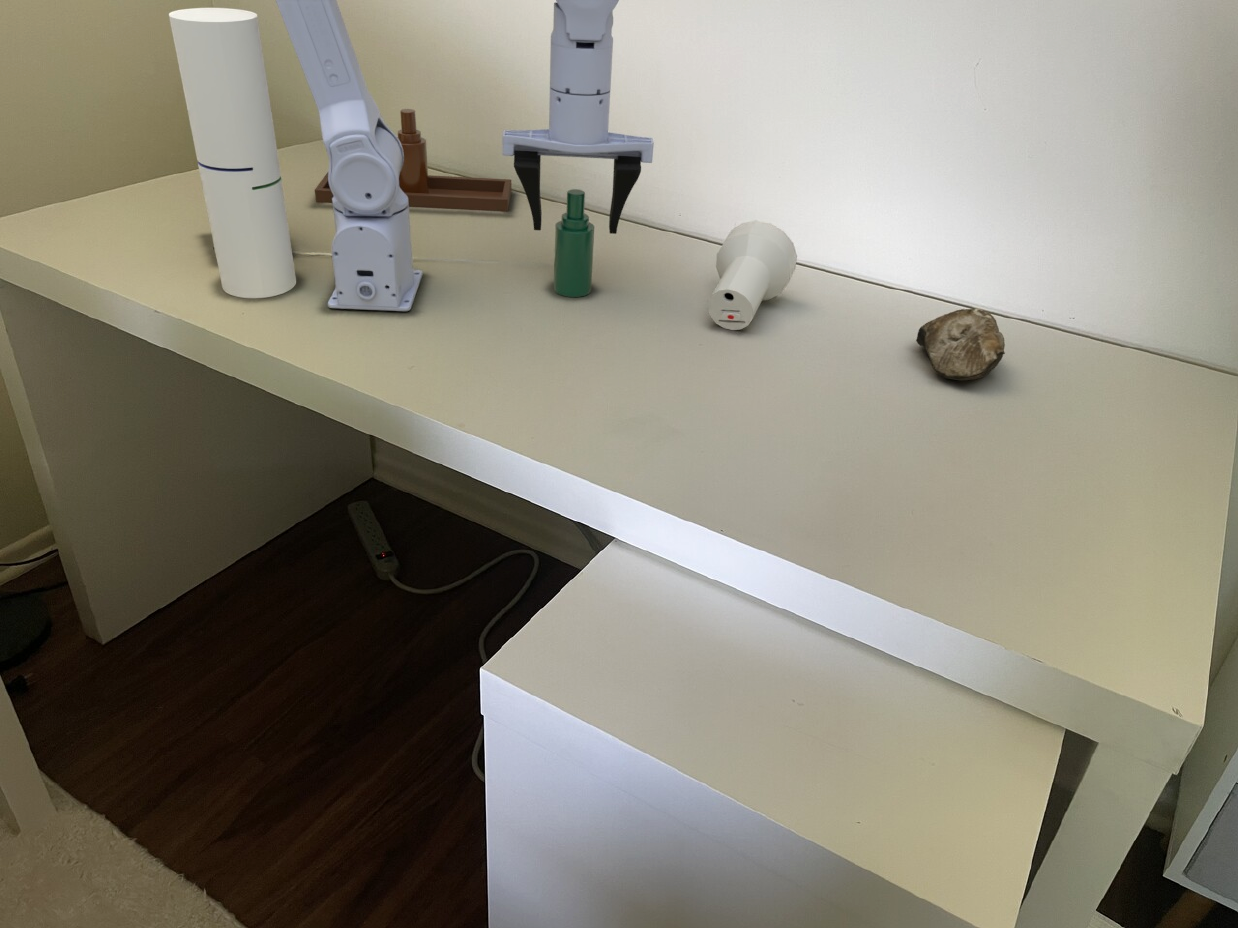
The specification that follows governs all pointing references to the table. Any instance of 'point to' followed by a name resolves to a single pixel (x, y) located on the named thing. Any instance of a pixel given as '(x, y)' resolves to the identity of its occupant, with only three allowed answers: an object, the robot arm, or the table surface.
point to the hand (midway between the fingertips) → (575, 228)
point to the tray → (449, 193)
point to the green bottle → (574, 248)
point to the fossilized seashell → (963, 344)
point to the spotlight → (750, 272)
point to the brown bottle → (412, 155)
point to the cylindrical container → (235, 148)
